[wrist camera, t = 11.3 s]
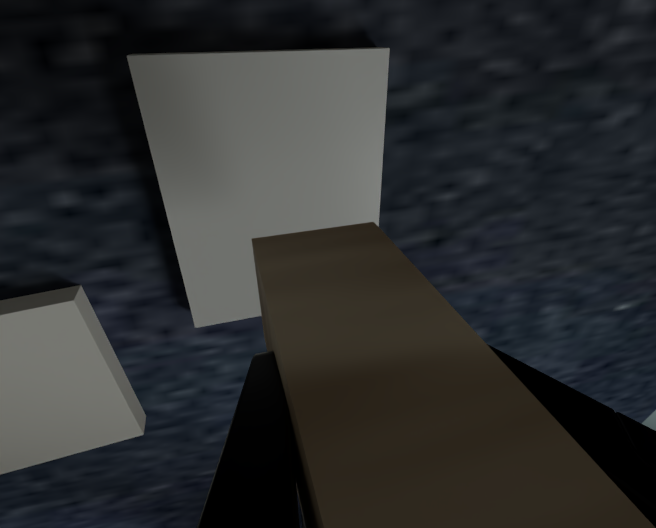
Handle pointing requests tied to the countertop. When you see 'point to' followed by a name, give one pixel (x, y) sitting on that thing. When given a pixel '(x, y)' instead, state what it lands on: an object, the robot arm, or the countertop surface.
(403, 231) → the countertop surface
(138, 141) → the countertop surface
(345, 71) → the grey flat plate
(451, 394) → the stick
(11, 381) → the tile
